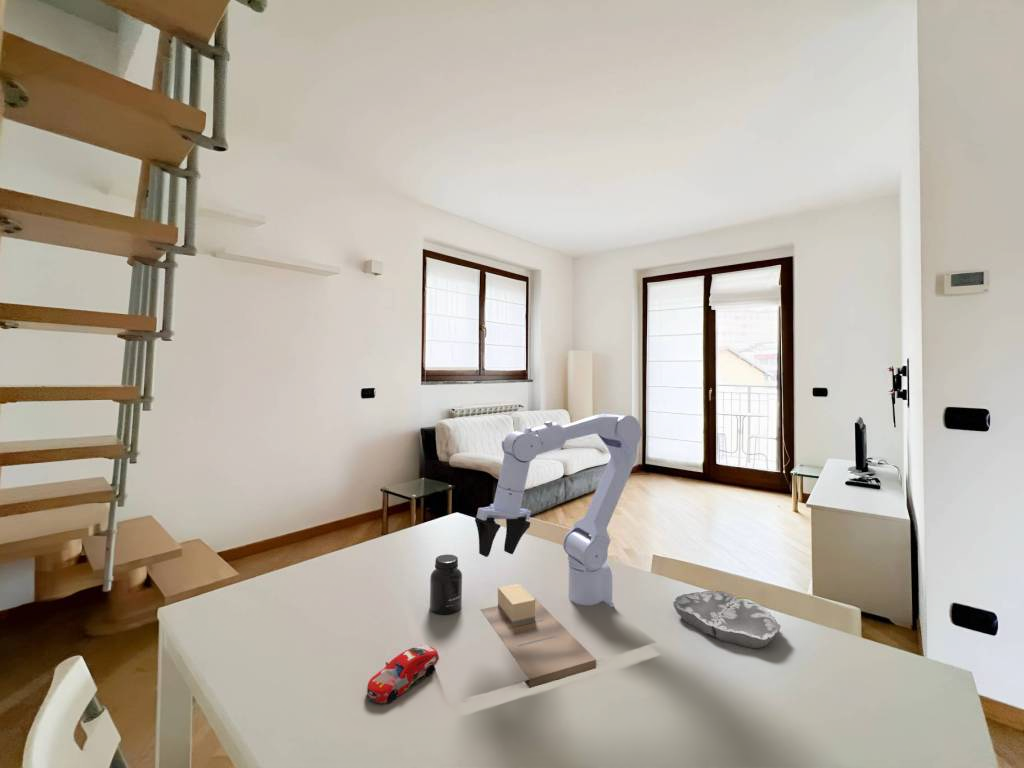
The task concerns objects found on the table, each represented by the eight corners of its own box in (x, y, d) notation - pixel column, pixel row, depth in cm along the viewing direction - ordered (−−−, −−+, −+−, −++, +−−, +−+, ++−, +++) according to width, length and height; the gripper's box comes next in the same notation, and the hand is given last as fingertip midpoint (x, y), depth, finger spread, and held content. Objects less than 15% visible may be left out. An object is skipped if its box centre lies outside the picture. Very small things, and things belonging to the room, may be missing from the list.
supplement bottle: (455, 624, 91) (456, 566, 91) (424, 620, 92) (425, 563, 92) (465, 607, 98) (466, 553, 98) (436, 604, 99) (437, 551, 99)
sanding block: (518, 601, 98) (519, 583, 98) (534, 619, 90) (535, 599, 90) (497, 605, 96) (498, 587, 96) (512, 624, 88) (512, 604, 88)
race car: (379, 713, 67) (379, 687, 67) (359, 697, 70) (359, 672, 70) (444, 668, 77) (444, 646, 77) (424, 656, 81) (424, 634, 81)
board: (480, 616, 94) (480, 609, 94) (535, 604, 99) (535, 598, 99) (529, 688, 72) (529, 678, 72) (596, 668, 77) (596, 659, 77)
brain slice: (789, 626, 92) (789, 611, 92) (768, 663, 79) (768, 647, 79) (694, 594, 105) (694, 582, 105) (663, 622, 93) (663, 608, 93)
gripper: (518, 485, 100) (505, 545, 99) (473, 482, 90) (458, 548, 89) (542, 493, 96) (529, 556, 94) (497, 491, 85) (481, 562, 84)
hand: (496, 553), depth 91 cm, fingers open, 7 cm apart
